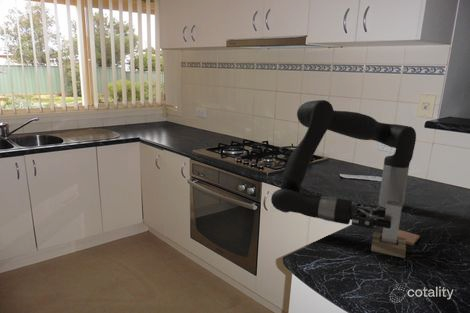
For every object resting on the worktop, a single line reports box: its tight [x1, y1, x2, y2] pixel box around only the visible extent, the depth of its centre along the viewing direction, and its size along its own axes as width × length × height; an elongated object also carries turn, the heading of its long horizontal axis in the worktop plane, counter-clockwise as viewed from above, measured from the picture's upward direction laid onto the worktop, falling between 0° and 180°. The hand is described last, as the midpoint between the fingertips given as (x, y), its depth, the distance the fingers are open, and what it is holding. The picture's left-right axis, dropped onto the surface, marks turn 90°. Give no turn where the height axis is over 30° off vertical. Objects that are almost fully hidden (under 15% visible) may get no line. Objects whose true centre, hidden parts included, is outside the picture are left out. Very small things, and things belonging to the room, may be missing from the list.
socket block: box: [370, 231, 407, 259], centre depth 106 cm, size 9×9×2 cm
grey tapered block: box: [381, 201, 403, 245], centre depth 105 cm, size 4×4×14 cm
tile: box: [398, 229, 420, 246], centre depth 114 cm, size 8×8×1 cm
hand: (391, 219), depth 104 cm, fingers open, 8 cm apart
